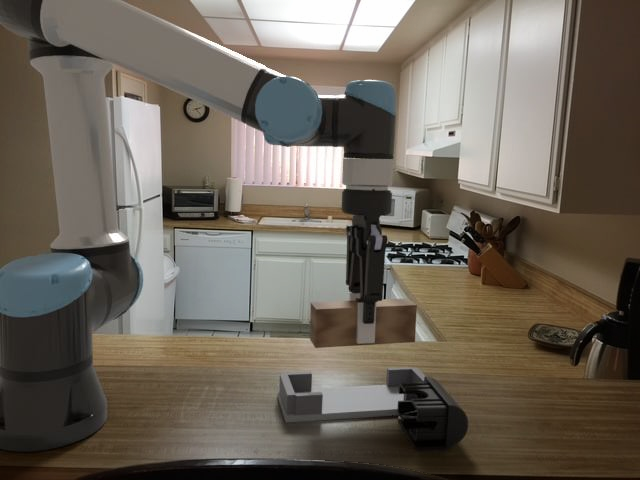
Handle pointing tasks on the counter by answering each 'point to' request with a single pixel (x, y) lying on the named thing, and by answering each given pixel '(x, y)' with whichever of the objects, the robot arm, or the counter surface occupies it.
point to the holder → (343, 397)
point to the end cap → (431, 416)
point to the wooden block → (341, 323)
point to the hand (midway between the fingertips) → (361, 337)
